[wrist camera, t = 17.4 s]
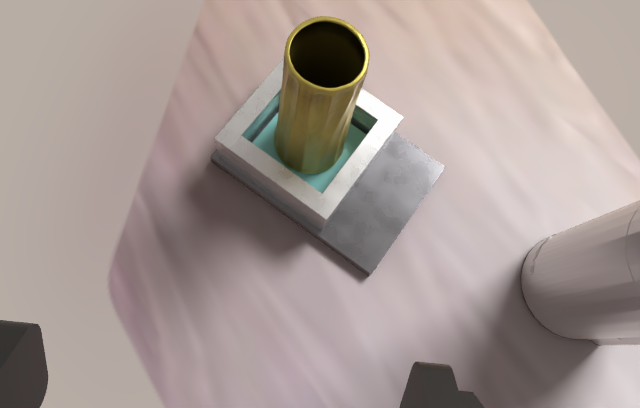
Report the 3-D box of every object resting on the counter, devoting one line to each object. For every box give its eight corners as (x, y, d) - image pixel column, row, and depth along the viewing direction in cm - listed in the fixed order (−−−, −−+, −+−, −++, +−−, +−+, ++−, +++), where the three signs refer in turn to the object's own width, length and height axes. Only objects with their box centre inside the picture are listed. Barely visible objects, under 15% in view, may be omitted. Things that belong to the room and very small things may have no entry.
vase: (336, 181, 45) (367, 108, 32) (266, 165, 45) (266, 84, 31) (350, 118, 47) (385, 22, 33) (282, 101, 47) (289, -2, 33)
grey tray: (441, 170, 49) (461, 150, 44) (369, 275, 45) (381, 267, 41) (292, 66, 50) (295, 35, 45) (211, 160, 47) (205, 139, 42)
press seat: (364, 139, 48) (366, 134, 47) (316, 202, 46) (317, 199, 45) (298, 92, 48) (299, 87, 47) (248, 152, 46) (247, 148, 45)
